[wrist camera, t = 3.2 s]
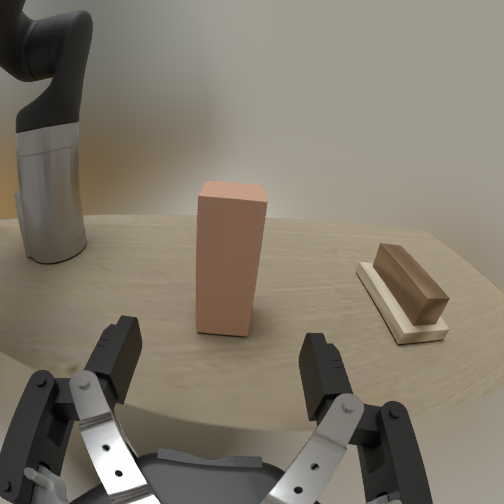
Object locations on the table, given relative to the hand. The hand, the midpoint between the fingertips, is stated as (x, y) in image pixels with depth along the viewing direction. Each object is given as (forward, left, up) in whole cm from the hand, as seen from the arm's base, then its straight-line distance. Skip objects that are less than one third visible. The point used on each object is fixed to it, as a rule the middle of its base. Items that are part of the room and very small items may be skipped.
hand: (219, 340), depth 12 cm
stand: (+23, +10, -8) cm, 26 cm away
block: (+2, +10, -8) cm, 13 cm away
